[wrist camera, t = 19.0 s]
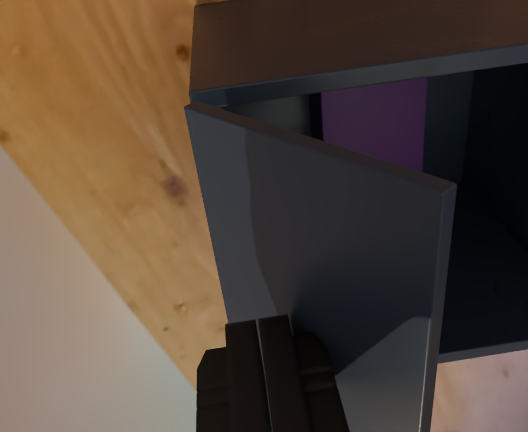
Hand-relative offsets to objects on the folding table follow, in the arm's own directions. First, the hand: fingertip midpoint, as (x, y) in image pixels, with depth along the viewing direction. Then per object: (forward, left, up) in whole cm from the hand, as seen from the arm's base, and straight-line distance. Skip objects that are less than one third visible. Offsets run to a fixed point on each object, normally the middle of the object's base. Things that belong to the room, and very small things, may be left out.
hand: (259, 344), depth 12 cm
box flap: (+1, 0, 0) cm, 1 cm away
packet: (+6, 0, -14) cm, 15 cm away
